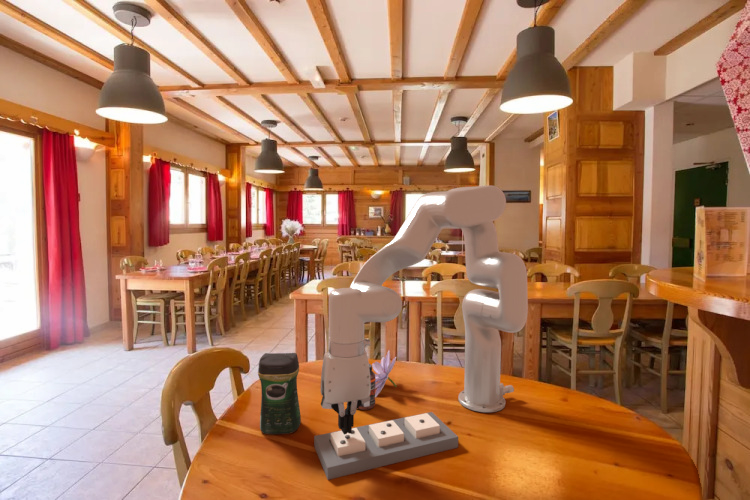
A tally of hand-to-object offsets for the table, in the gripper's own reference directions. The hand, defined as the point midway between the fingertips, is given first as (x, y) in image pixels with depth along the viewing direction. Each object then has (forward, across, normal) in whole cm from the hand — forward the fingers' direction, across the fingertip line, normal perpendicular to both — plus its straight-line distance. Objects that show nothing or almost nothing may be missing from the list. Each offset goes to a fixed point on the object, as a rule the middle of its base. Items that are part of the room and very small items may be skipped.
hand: (345, 430), depth 85 cm
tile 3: (+4, 0, 0) cm, 4 cm away
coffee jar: (+6, +12, -17) cm, 22 cm away
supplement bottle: (+6, -12, -20) cm, 24 cm away
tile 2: (+4, -9, 0) cm, 10 cm away
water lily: (+6, -20, -29) cm, 36 cm away
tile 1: (+4, -18, 0) cm, 19 cm away
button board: (+6, -10, 0) cm, 11 cm away
